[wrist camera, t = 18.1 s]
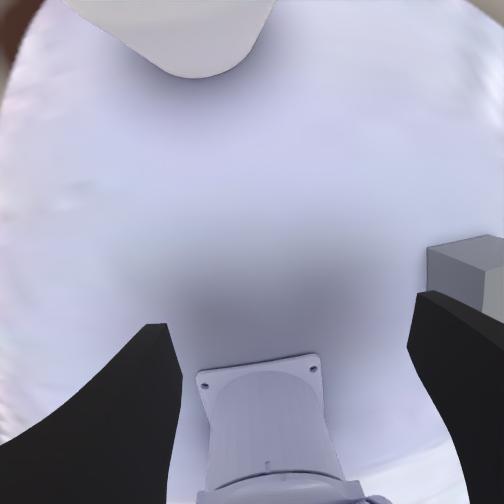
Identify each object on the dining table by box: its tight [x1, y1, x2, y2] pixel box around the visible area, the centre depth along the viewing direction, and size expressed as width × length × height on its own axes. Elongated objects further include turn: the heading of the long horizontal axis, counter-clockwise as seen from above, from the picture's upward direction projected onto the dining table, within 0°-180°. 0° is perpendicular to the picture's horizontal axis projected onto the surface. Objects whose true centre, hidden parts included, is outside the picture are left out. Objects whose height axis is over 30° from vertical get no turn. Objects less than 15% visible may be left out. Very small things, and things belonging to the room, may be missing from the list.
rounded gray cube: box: [427, 235, 504, 323], centre depth 16 cm, size 6×6×6 cm
